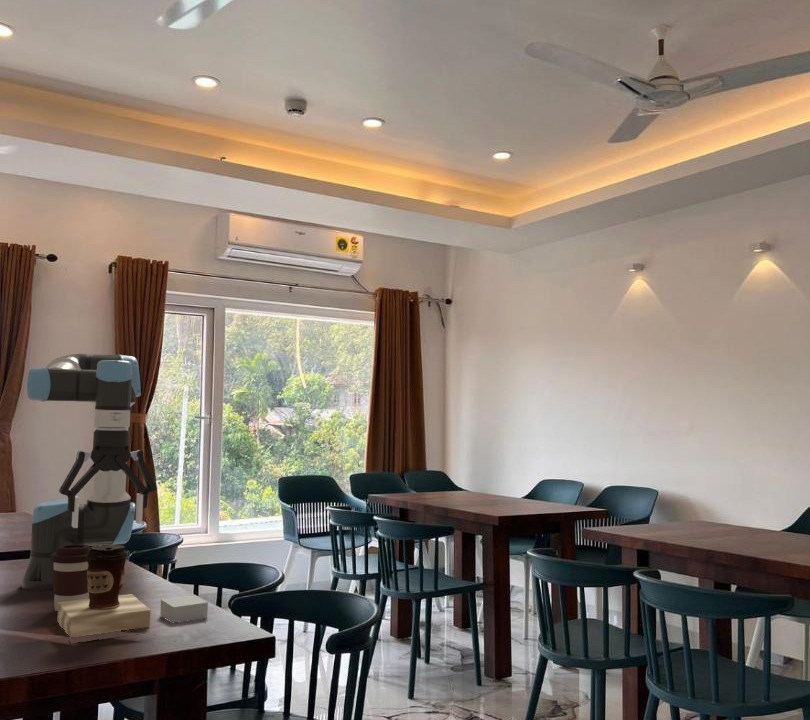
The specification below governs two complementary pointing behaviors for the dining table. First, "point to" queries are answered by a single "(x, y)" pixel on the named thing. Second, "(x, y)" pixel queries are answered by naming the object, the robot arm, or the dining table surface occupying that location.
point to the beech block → (102, 616)
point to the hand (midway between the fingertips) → (107, 525)
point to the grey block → (184, 608)
